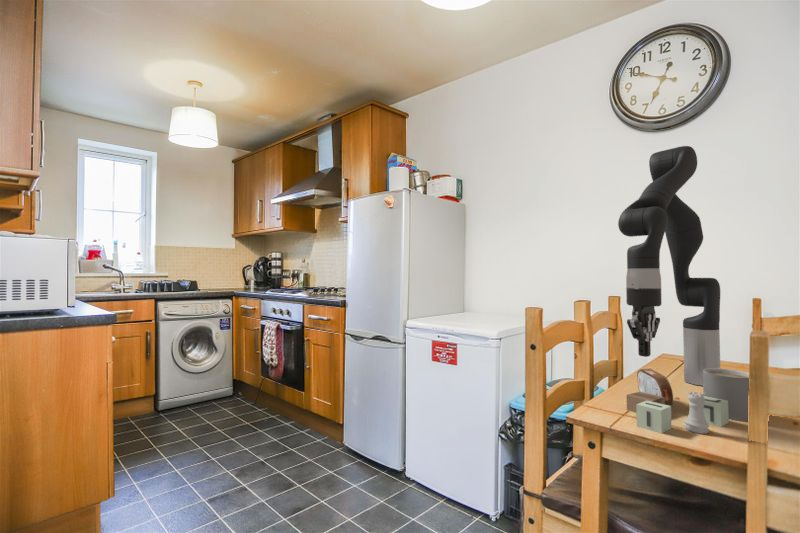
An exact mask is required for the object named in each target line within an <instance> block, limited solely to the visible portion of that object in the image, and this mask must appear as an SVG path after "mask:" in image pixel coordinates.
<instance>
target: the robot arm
mask: <svg viewBox="0 0 800 533" xmlns="http://www.w3.org/2000/svg"><path fill="white" fill-rule="evenodd" d="M648 162H649V172H650V176H651V180H652V181H651V183H649V184H648V185H647V186H646V187H645V189H643V191H642V193H641V195H640V196H639V198H637V199H636V200H635V201H633V202H632V203H631V204H629V205H628V206H627V207H626V208H625V209H624V210H623V211H622V212H621V214H620V215H619V218H618V222H617V223H618V224H617V225H618V226H617V227H618V229H619V231H620V233H621V234H622V235H624V236H626V237H629V238H631V237H633V238H634V237H645V236H647V237H646V239H645V240H644V242H642V243H640V244H635V245H632V246H630V247H628V249H627V251H626V252H627V253H626V262H627V263H626V265H627V267H626V268H627V272H626V277H625V278H626V284H625V285H626V288H625V290H626V305H627V306H632V312H631V319H629V318H628V319H627V320H626V324H627V327H628V328H629V331H630V333H631V336H632V338H633V339H635V340H636V341H637V344H638V347H637V348H638V350H637V352H638V355H639V357H645V358H646V357H650V356H651V342H652V341H653V339H655V338H656V335H657V332H658V329H659V326H660V323H661V318H660V317H657V316H656V309H655V307H660V306H662V277H661V276H662V275H661V269H660V265H661V264H660V262H661V261H660V259H661V258H660V255H661V254H660V253H661V247H662V243H663V239H664V235H665V238H666V243H667V246H668V249H669V254H670V258H671V263H672V269H673V271H672V272H673V278H674V279H673V280H674V286H675V294H676V295H675V296H676V298H677V301H678V303H679V304H680V305H681V306H685V307H696V308H697V307H698V308H703V311H702V312H701V313H699V314H697V315H693V316H688V317H685V318H684V319H683V320H682V329H683V330H682V331H683V332H682V333H683V334H682V336H683V340H682V341H683V378H684V380H683V381H684V382H685V383H687V384H691V385H696V386H702V387H703V369H707V368H720V369H721V341H720V339H721V338H720V318H721V317H720V316H721V314H720V312H721V308H720V307H721V284H720V282H719V281H718V280H717V279H716V278H714V277H691V276H690V275H689V274H690V273H689V270H690V265H691V263H692V261H693V259H694V257H695V256H696V254H697V253H698V252H699V249H700V248H701V246H702V244H703V241H704V234H703V229H702V222H701V218H700V216H699V215H698V214H697V212H696V211H694V210H693V209H692V208H691V207H690V206H689V205H688V204H686V202H684V201H683V200H682V199H681V198H680V197H679V196H678V195H677V192H679V190H680V189H681V188H682V187H683V186H685V185H686V183H687V182H688V181H689V180H690V179H691V178H692V177H693V176H694V175H695V172H696V170H697V168H698V156H697V153H696V150H695V149H694V147H692V146H689V145H682V146H677V147H674V148H673V147H672V148H670V149H665V150H664V149H663V150H660V151H657V152H653V153H652V154H651V155H650V157H649V161H648Z"/></svg>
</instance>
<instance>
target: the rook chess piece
mask: <svg viewBox="0 0 800 533" xmlns="http://www.w3.org/2000/svg"><path fill="white" fill-rule="evenodd" d="M697 393H698V394H697ZM686 397H687V399H688V401H689V402H688V406H689V410H688V415H687V418H686V419H685V420H684V424H685V425H684V428H685V429H686V431H689V432H691V433H694V434H698V435H699V434H700V435H707V434H709V432H711V431H710V429H709V427H710V424H708V423H707V422H706V420H705V417H704V412H703V407H704V405H703V402H704V401H705V400H706V399H705V398H704V397H703V393H701V392H695V391H693V392H692V391H689V392H688V395H687V396H686Z"/></svg>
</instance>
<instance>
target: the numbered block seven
mask: <svg viewBox="0 0 800 533" xmlns="http://www.w3.org/2000/svg"><path fill="white" fill-rule="evenodd" d="M703 397H704V398H705V399H706V400H705V401H704V402H703V405H704V407H703V412H704V417H705V420H706V422H707V423H708V425H712V426H714V427H715V426H716V427H720V428H721V427H723V426H725V425H727V424H728V423H730V422H729V420H730V419H729V417H728V401H727V400H722V399H717V398H712V397H707V396H703Z"/></svg>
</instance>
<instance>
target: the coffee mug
mask: <svg viewBox="0 0 800 533" xmlns="http://www.w3.org/2000/svg"><path fill="white" fill-rule="evenodd" d="M749 373H750V372H747V371H742V370H737V369H730V368H729V369H728V368H721V367H720V368H707V369H703V386H702V389H703V390H702V392H703V393H702V394H703V396H707V397H712V398H717V399H722V400H727V401H728V417H729V420H730V419H731V421H738V420H739V422H741V421H740V420H744V421H743V422H749V421H748V391H749Z"/></svg>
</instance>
